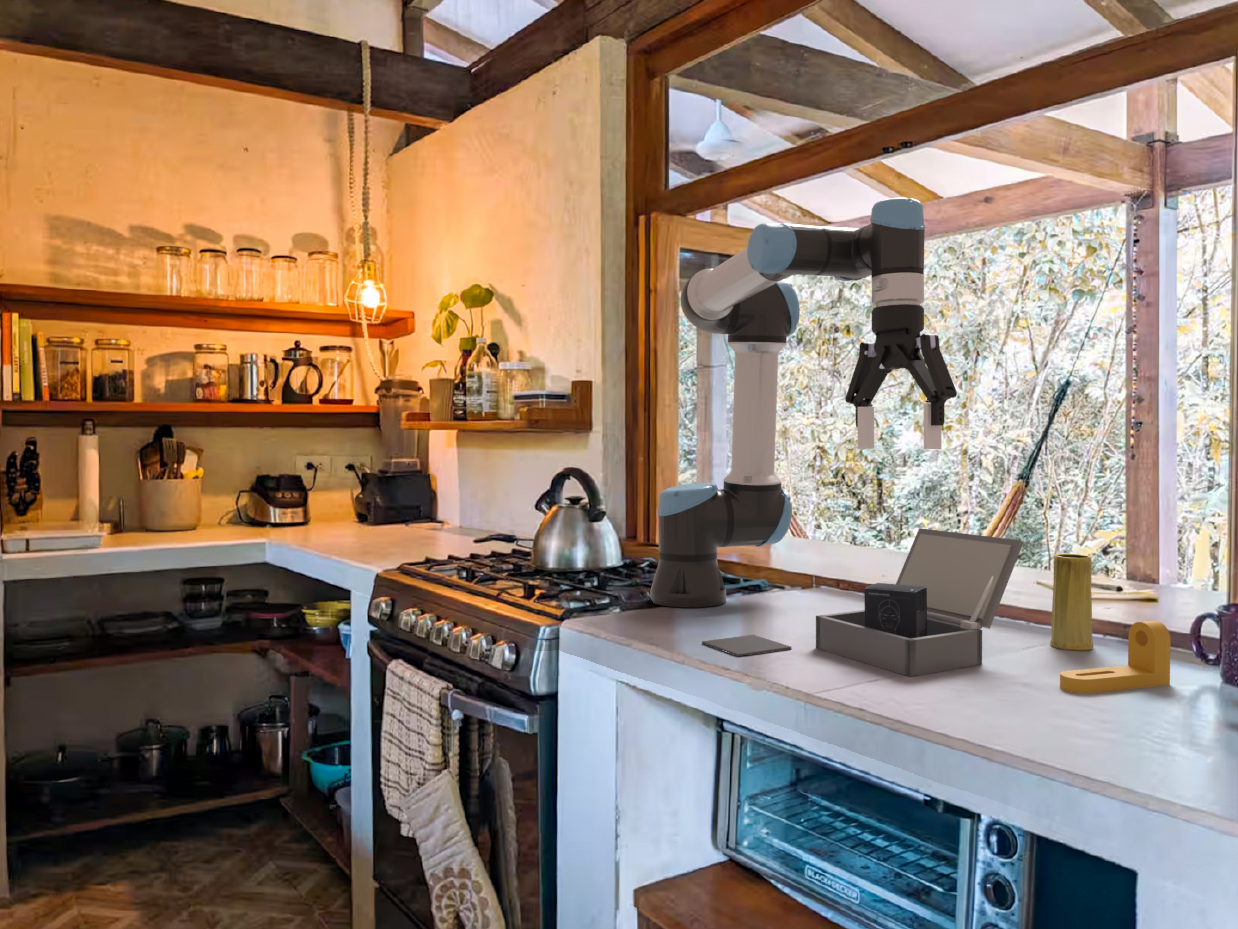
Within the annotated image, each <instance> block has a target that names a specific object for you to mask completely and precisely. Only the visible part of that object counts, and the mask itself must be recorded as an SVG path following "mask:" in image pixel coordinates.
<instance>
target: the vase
mask: <svg viewBox="0 0 1238 929" xmlns="http://www.w3.org/2000/svg"><path fill="white" fill-rule="evenodd" d="M1052 584H1053V585H1052V586H1053V589H1052V604H1051V605H1052V606H1051V608H1052V609H1051V639H1050V643H1049V644H1050V646H1051V647H1053V648H1055V649H1059V650H1065V651H1073V652H1074V651H1075V652H1082V651H1083V652H1084V651H1085V652H1086V651H1092V650H1093V649H1094V642H1093V626H1092V625H1093V624H1092V623H1093V606H1092V602H1093V601H1092V600H1093V598H1092V556H1091V555H1088V554H1082V553H1080V554H1079V553H1056V554H1054V556H1053V583H1052Z"/></svg>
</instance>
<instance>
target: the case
mask: <svg viewBox="0 0 1238 929" xmlns="http://www.w3.org/2000/svg"><path fill="white" fill-rule="evenodd" d="M914 537H915V538H914V540H913V542H912V545H911V546H910V549H909V551H908V553H907V556H906V558H905V561H904V563H903V566H902V568H901V571H900V573H899V576H898V578H897V581H896V582H895V584H899V585H912V586H924V587H927V636H924V637H918V638H911V639H910V638H907V637H903V636H899V635H895V634H891V633H887V632H883V631H879V630H876V629H872V628H868V627H865V609H862V610H854V611H853V610H852V611H847V612H838V613H829V614H823V615H815V648H816V649H819V650H823V651H826V652H828V653H832V654H835V655H838V656H841V657H844V658H848V659H852V660H854V661H858V662H861V663H864V662H865V663H864V664H868V665H871V666H875V667H876V668H877V667H878V668H881V669H883V670H887V669H888V670H887V671H890V670H891V671H890V672H893V673H898V674H900V675H903V676H906V675H908V676H907V677H910V676H912V677H916V676H915V675H918V676H923V675H928V674H934V673H940V672H945V671H951V670H957V669H964V668H969V667H976V666H981V665H983V630H982V628H985V629H991V627H992V624H993V621H994V620H995V617H996V614H997V611H998V609H999V606H1000V605H1001V604H1000V603H1001V601H1002V599H1003V595H1004V594H1005V591H1006V589H1007V586H1008V583H1009V580H1010V578H1011V576H1012V573H1013V570H1014V567H1015V565H1016V564H1017V561H1018V558H1019V555H1020V553H1021V550H1022V548H1023V545H1024V541H1022V540H1020V539H1014V538H1013V539H1012V538H1004V537H996V536H988V535H987V536H986V535H979V534H970V533H962V532H953V531H946V530H936V529H928V528H920V527H919V528H918V531H917V532H916V535H915V536H914Z"/></svg>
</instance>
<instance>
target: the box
mask: <svg viewBox="0 0 1238 929" xmlns="http://www.w3.org/2000/svg"><path fill="white" fill-rule="evenodd" d="M863 596H864V598H863V599H864V610H865V627H868V628H872V629H876V630H879V631H883V632H887V633H891V634H895V635H899V636H903V637H907V638H910V639H911V638H918V637H924V636H927V587H924V586H912V585H899V584H896V583H886V582H885V583H884V582H876V583H872V584H870V585H867V586H865V588H864V595H863Z"/></svg>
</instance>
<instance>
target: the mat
mask: <svg viewBox="0 0 1238 929" xmlns="http://www.w3.org/2000/svg"><path fill="white" fill-rule="evenodd" d="M701 644H702V645H704V644H707V645H709V646H708V647H710V646H712V647H715V648H717V649H716V650H718V649H719V650H718V651H721V650H724V651H727V652H729V653H731V654H730V655H732V654H734V655H737V656H741V657H744V656H743V655H748V656H751V655H750V654H755V655H759V654H758V653H762V654H765V653H764V652H769V653H773V652H772V651H776V652H780V651H779V650H783V651H790V650H792V646H790V645H786V644H783V643H781V642H778V641H774V640H771V639H768V638H765V637H762V636H759V635H756V634H749V635H741V636H733V637H725V638H718V639H710V640H702V641H701ZM707 645H706V646H707ZM712 647H711V648H712ZM715 648H714V649H715ZM729 653H728V654H729ZM734 655H733V656H734ZM737 656H736V657H737Z"/></svg>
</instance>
